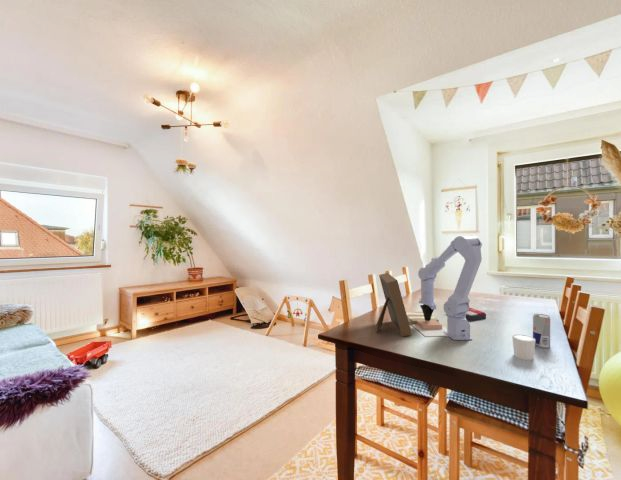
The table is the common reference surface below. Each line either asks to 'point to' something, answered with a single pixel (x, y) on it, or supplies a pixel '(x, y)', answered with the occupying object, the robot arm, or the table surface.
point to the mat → (431, 331)
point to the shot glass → (523, 346)
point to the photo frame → (393, 305)
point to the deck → (417, 317)
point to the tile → (428, 324)
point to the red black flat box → (475, 315)
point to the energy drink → (541, 330)
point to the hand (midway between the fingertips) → (427, 320)
